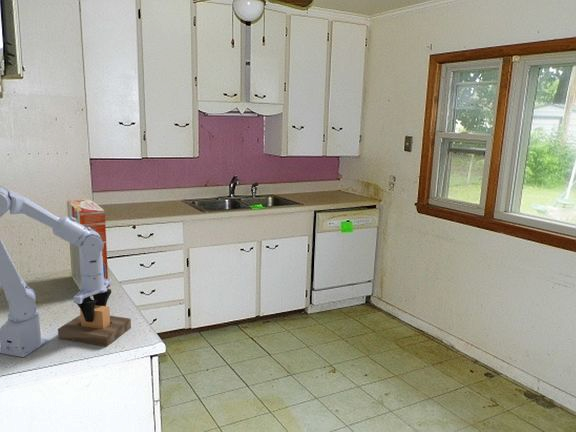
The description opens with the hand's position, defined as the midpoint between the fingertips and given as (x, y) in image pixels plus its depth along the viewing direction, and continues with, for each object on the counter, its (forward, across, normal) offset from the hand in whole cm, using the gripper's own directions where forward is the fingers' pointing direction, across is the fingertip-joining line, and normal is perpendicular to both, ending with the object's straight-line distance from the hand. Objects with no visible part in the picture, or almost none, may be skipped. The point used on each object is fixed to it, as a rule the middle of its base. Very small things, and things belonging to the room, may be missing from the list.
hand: (95, 317), depth 134 cm
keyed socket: (+5, 0, 0) cm, 5 cm away
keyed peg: (+5, 0, 0) cm, 5 cm away
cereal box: (+5, +33, +26) cm, 42 cm away
